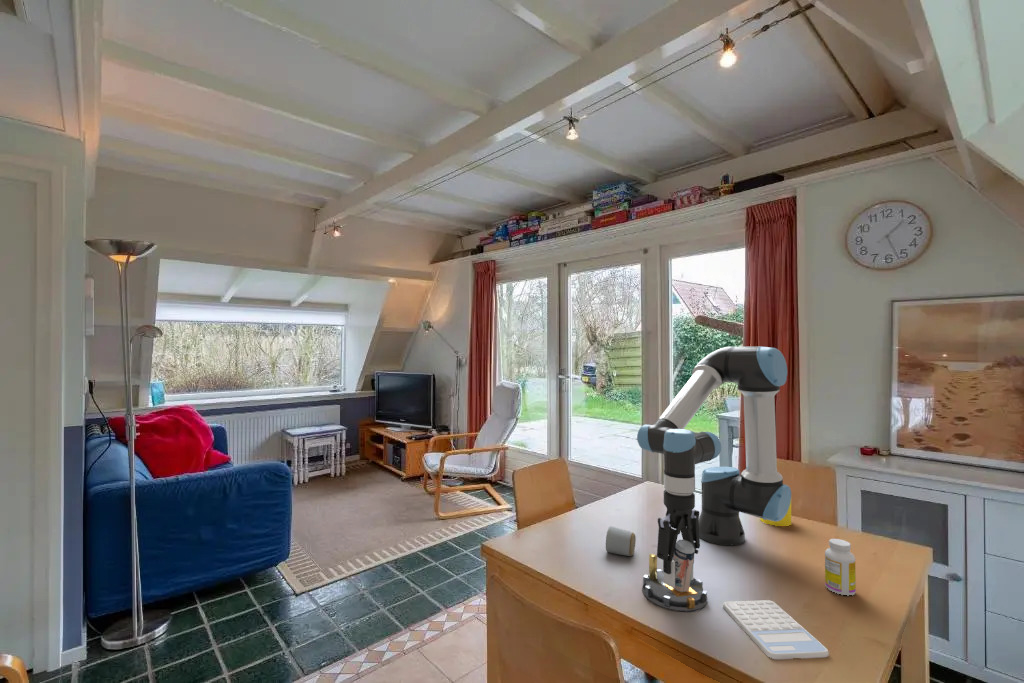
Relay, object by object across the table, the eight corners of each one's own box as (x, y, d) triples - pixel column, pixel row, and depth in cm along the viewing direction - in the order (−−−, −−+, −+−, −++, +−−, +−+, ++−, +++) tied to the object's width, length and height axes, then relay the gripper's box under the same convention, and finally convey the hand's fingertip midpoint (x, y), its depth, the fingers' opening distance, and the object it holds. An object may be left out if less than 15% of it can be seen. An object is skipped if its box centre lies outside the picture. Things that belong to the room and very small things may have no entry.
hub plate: (690, 578, 130) (690, 576, 130) (719, 611, 114) (719, 609, 114) (634, 579, 129) (634, 577, 129) (654, 612, 113) (654, 610, 113)
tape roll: (758, 522, 170) (758, 497, 170) (761, 514, 178) (761, 490, 178) (790, 529, 164) (790, 502, 164) (792, 520, 173) (792, 494, 173)
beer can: (665, 583, 120) (671, 540, 118) (679, 579, 122) (685, 537, 120) (679, 595, 116) (685, 551, 114) (693, 590, 118) (699, 547, 116)
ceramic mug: (631, 561, 140) (632, 535, 140) (604, 555, 144) (605, 530, 144) (638, 547, 150) (638, 523, 150) (612, 542, 153) (612, 519, 153)
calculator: (772, 605, 118) (772, 598, 118) (831, 659, 98) (831, 650, 98) (721, 607, 117) (721, 600, 117) (770, 662, 97) (770, 653, 97)
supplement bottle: (850, 586, 126) (850, 538, 126) (859, 599, 120) (859, 549, 120) (821, 582, 128) (821, 535, 128) (829, 594, 122) (829, 545, 122)
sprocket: (652, 570, 133) (652, 542, 133) (711, 586, 124) (711, 556, 124) (635, 596, 119) (635, 565, 119) (700, 616, 111) (700, 582, 111)
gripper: (690, 481, 127) (690, 565, 127) (641, 493, 117) (641, 585, 117) (715, 488, 121) (715, 577, 121) (665, 502, 110) (665, 599, 110)
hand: (678, 581), depth 119 cm, fingers open, 7 cm apart
